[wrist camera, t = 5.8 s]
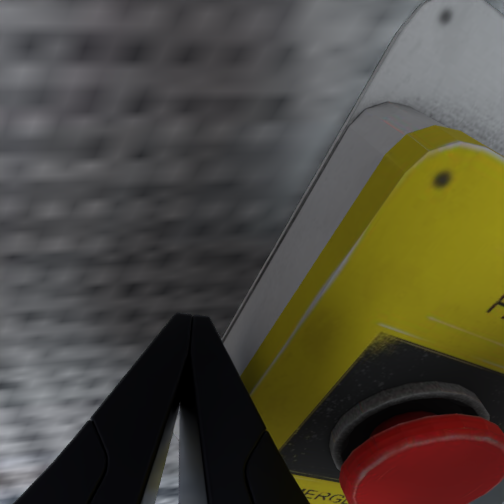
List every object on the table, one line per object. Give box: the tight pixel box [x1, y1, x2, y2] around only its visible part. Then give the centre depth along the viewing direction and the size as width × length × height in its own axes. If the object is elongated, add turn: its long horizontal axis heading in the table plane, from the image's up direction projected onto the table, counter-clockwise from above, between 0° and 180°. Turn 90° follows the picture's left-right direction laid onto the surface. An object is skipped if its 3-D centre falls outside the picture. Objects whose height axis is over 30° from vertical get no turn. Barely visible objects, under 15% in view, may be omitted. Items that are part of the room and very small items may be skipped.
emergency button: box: [173, 0, 504, 504], centre depth 9 cm, size 9×4×15 cm
